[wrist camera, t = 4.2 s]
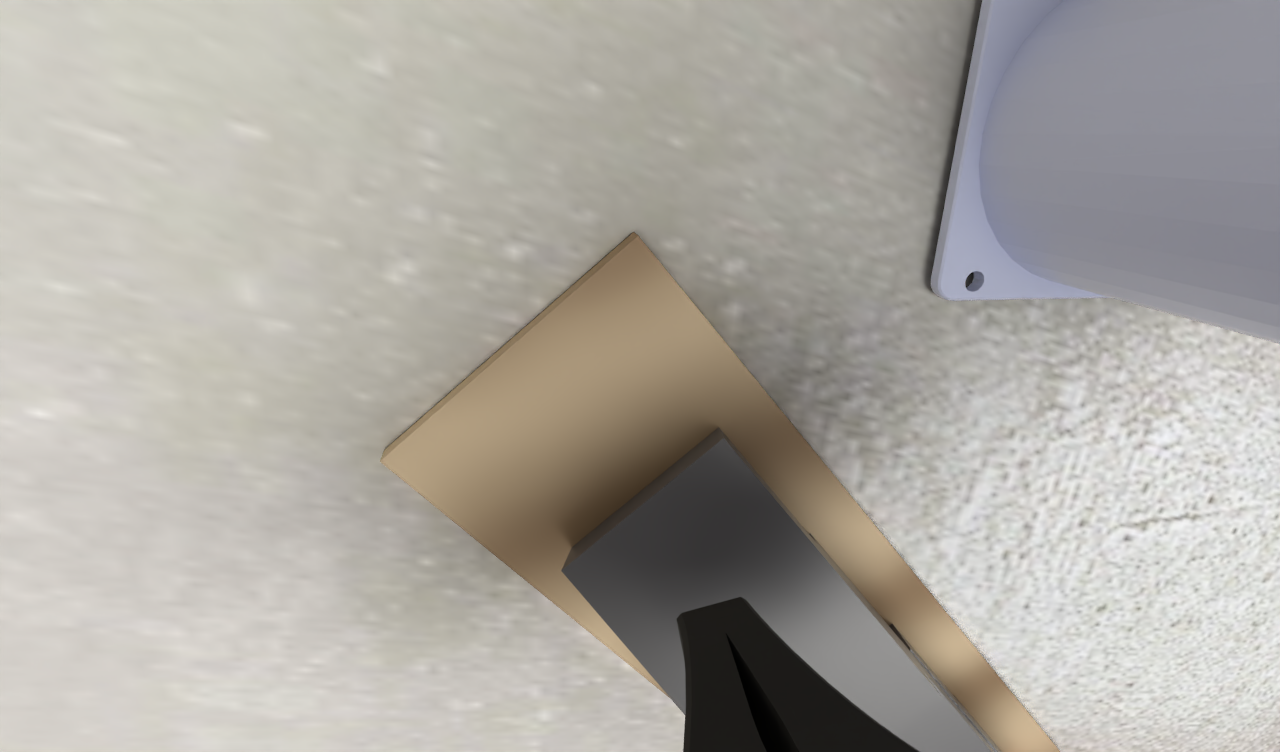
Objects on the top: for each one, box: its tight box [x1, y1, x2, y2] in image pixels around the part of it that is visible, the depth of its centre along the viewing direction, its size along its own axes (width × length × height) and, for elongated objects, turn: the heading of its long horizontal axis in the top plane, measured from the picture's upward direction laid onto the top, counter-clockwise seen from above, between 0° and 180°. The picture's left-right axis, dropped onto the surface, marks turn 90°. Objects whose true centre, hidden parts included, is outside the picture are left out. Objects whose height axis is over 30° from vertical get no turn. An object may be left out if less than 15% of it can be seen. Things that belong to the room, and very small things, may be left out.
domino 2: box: [809, 533, 994, 752], centre depth 18 cm, size 2×5×8 cm
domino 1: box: [561, 427, 942, 734], centre depth 16 cm, size 2×5×8 cm
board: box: [380, 232, 1060, 752], centre depth 20 cm, size 26×8×1 cm, turn 39°
